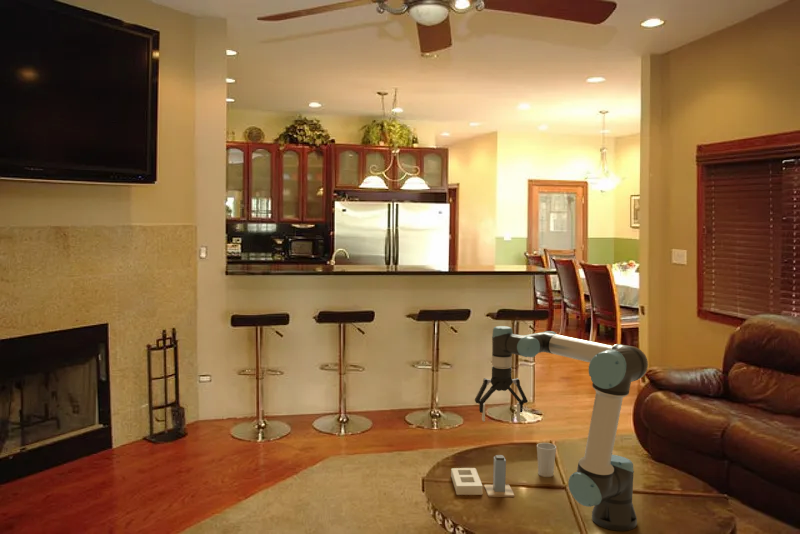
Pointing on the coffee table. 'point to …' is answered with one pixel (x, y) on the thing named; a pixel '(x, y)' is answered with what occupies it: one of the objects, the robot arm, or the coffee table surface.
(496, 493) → the pad
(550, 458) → the cup
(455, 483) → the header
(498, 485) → the plug
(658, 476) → the coffee table surface
